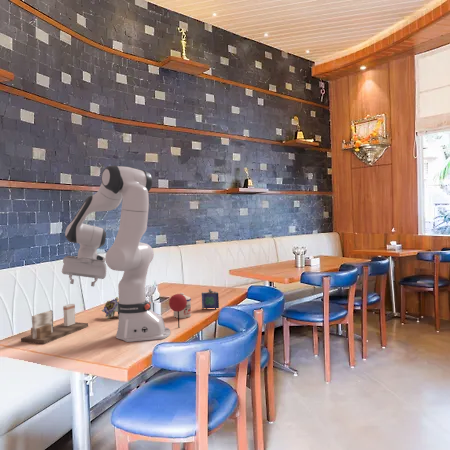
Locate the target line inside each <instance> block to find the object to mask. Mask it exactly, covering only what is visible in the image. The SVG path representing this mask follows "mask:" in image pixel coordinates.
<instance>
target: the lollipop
mask: <svg viewBox="0 0 450 450" xmlns="http://www.w3.org/2000/svg"><path fill="white" fill-rule="evenodd" d="M186 305H187V300H186V298H185V297H184V296H183V295H181V294H180V293H177V294H176V293H175V294H173V295H171V296H170V298H169V300H168V306H169V307H170V309H171V310H172V311H173V312H174V311H176V312H178V318H177V323H178V324H177V326H178V327H177V328H180V318H179V311H182V310H184V309H185V307H186Z"/></svg>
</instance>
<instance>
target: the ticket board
mask: <svg viewBox="0 0 450 450" xmlns="http://www.w3.org/2000/svg"><path fill="white" fill-rule="evenodd" d="M53 315H54V313H53V310H52V309H51V310H47V311H44V312H41V313H36V314H33V315H31V328H30V334H29V335H26V336H23V337H20V342H21V343H29V344H36V345H37V344H39V345H45V344H48V343H50V342H53V341H56V340H58V339H61V338H63V337H66V336H67V335H71V334H72V333H75V332H78V331H81V330H83V329H85V328H88V327H89V322H77V321H75V324H72V325H70V326H64V322H62V323H60V324H57V325H54V316H53Z"/></svg>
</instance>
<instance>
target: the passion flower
mask: <svg viewBox="0 0 450 450" xmlns="http://www.w3.org/2000/svg"><path fill="white" fill-rule="evenodd" d="M118 303H119V296H118V297H115V298H114V299H111V300H107V301H106V303H105V305H104V307H103V309H102V310H101V312H103V313H105V317H107V318H106V319H107V320H109V319H111V318H114V317H115V313H116V312H117V313H118Z"/></svg>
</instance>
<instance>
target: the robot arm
mask: <svg viewBox="0 0 450 450" xmlns="http://www.w3.org/2000/svg"><path fill="white" fill-rule="evenodd" d="M152 186H153V177H152V175H151V173H150V172H148V171H146V170H143V169H139V168H133V167H130V166H121V165H120V166H119V165H118V166H117V165H108V166H106V167H105V168H104V169H103V171H102V172H101V184H100V186H99V189H98V190H97V191H96V193H93V195H90V196H89V195H88V196H87V198H86V199H85V200H84V202H83V203H82V205H81V206H80V207H79V209H78V211H77V212H76V214H75V216H74V217H73V219H72V220H71V221H70V222H69V223H68V225H67V226H66V229H65V232H64V234H65V235H64V236H65V238H66V240H67V241H68V242H69V243H73V244H79V249H78V251H77V256H74V255H65V256H64V257H63V260H62V264H63V266H62V269H61V273H62V274H63V275H68V278H69V283H70V285H74V283H75V279H74V278H73V276H74V277H84V278H91V279H94V281H91V282H90V286H91V287H95V285H96V283H97V282H98V279H99V280H105V278H106V276H107V267H108V268H109V269H111V270H112V271H117V272H123V274H122V278H121V279H120V280H119V283H118V285H117V287H118V289H117V291H118V302H119V303H118V312H117V317H118V322H117V331H116V334H115V337H116V338H117V340H121V341H124V342H127V343H130V342H140V341H142V342H143V341H152V340H153V341H154V340H162V339H165V338H167V337H169V336H170V335H171V329H170V328H169V327H166V325H165V321H164V318H163V316H160V315H159V314H158V313H156V312H155V311H154V310H152V309H151V307H152V305H151V304H152V302H151V301H147V300H146V280H147V276H148V275H147V274H148V271H149V267H150V263H152V261H153V260H154V249H153V248H152V246H151V245H150V244H148V243H146V242H145V243H144V242H141V239H142V238H143V235H144V234H145V233H146V232H147V228H148V220H149V219H148V218H149V207H150V205H149V204H150V203H149V202H150V200H149V199H150V198H149V192H150V191H151V189H152ZM120 204H121V209H120V221H119V225H118V231H117V233H116V236H115V239H114V240H113V241H114V242H113V244H112V245H111V246H110V247H109V249H108V250H107V251H106V252H105V253H106V254H105V257H104V256H102V255H100V254H98V249H99V248H101V247H103V246H104V245H105V244H106V238H107V232H106V230H105V229H104V228H102V227H99V226H97V225H92V224H91V225H90V224H86V223H84V221H85V220H86V219H87V217H88V216H89V214H92V213H95V212H110V211H113V210H115V209H117V208H118V207H119V206H120Z"/></svg>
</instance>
